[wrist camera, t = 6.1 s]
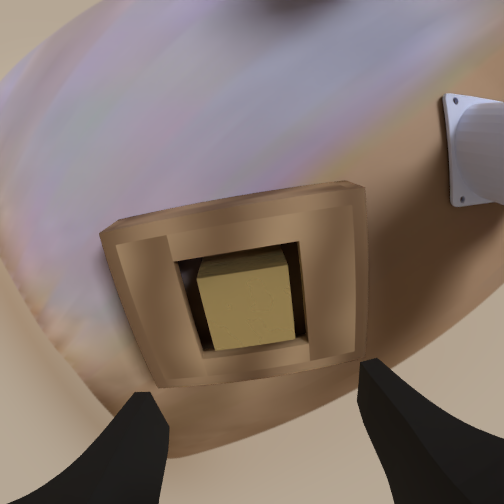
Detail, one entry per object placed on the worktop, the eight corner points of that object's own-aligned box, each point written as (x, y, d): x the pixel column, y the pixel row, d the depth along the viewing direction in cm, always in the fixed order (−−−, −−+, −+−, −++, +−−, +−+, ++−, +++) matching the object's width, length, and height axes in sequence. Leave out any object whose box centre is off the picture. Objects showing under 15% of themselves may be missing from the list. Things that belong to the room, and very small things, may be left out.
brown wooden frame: (345, 180, 17) (365, 187, 14) (351, 332, 21) (365, 357, 18) (118, 219, 17) (98, 233, 15) (165, 361, 21) (158, 388, 18)
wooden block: (277, 240, 18) (287, 265, 15) (285, 304, 20) (295, 339, 16) (204, 251, 18) (196, 278, 15) (218, 314, 20) (215, 350, 16)
